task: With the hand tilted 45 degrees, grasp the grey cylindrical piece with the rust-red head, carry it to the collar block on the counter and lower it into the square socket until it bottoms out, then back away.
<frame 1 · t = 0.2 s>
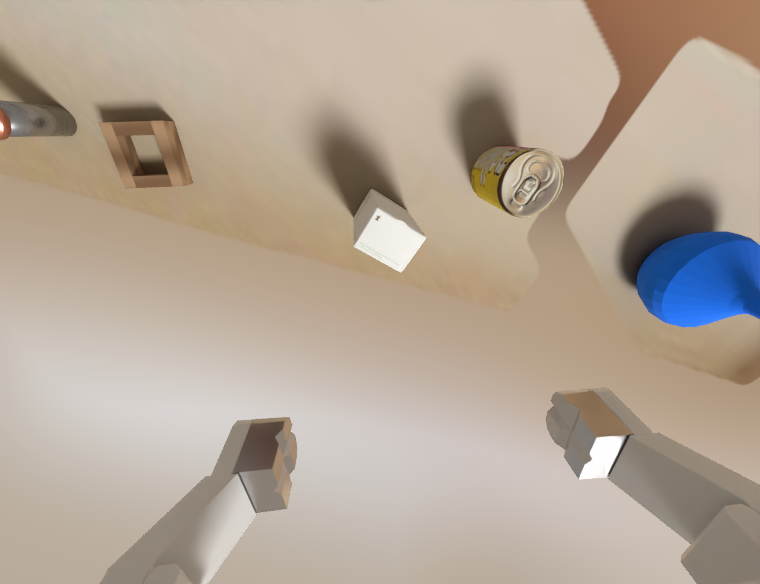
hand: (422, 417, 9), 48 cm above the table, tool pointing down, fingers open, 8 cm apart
vase: (663, 265, 62), on the table
beverage can: (496, 174, 52), on the table
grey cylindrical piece: (61, 121, 45), on the table
collar: (155, 154, 48), on the table
skincare box: (382, 213, 54), on the table
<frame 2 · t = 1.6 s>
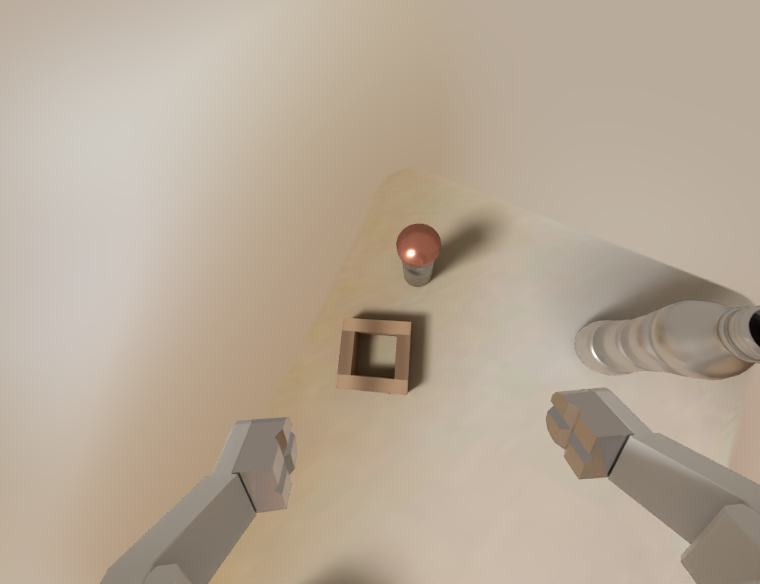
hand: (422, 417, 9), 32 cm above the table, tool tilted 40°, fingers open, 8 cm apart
plastic bottle: (594, 348, 38), on the table
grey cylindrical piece: (417, 273, 43), on the table
collar: (376, 355, 41), on the table
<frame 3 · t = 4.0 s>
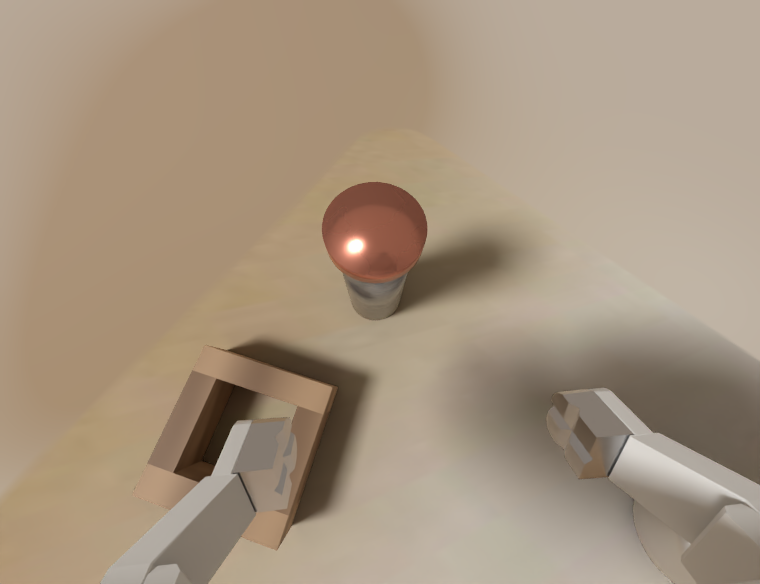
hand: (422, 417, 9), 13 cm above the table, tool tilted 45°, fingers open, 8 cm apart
plastic bottle: (663, 519, 20), on the table
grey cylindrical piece: (375, 295, 24), on the table
collar: (256, 431, 21), on the table
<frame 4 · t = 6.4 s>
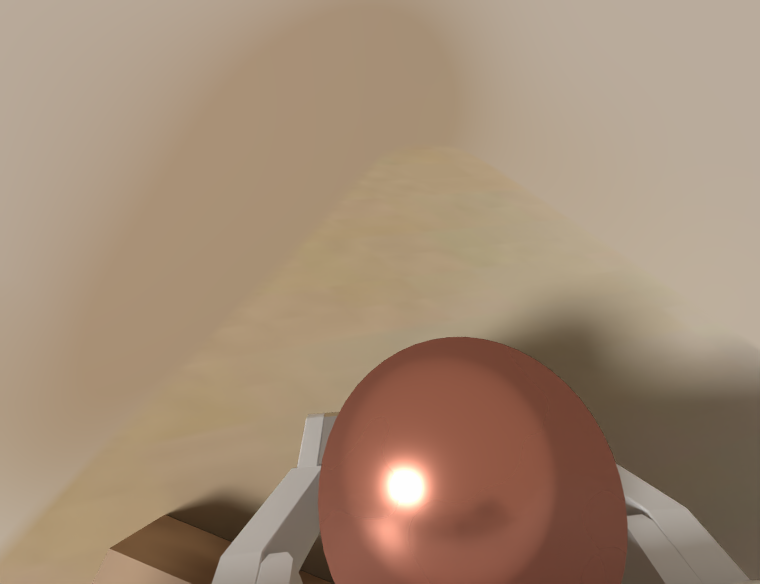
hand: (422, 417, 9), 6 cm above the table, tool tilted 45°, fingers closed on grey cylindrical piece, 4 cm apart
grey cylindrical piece: (406, 417, 15), on the table, touching gripper
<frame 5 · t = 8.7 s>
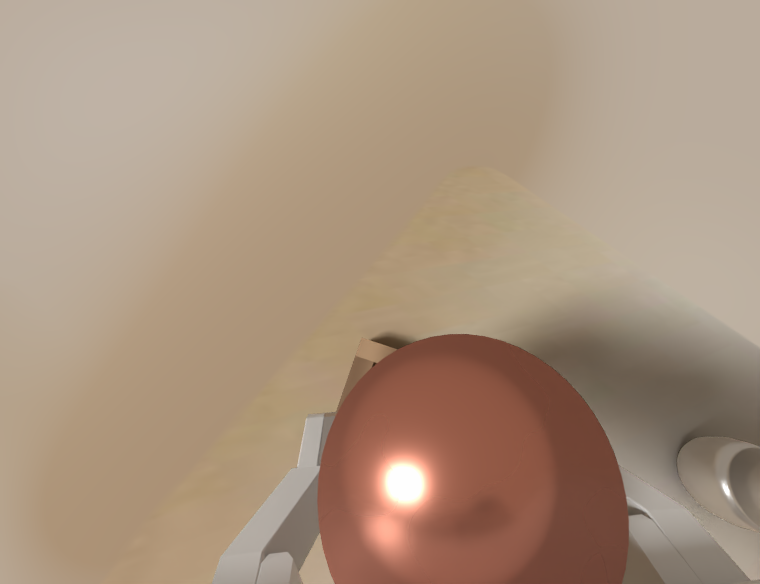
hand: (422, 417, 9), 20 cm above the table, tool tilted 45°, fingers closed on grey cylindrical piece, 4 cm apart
plastic bottle: (698, 470, 27), on the table
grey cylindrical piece: (406, 416, 15), point 14 cm above the table, touching gripper
collar: (392, 402, 28), on the table
when the fingers open (8 cm above the table, at t = 11.1 s): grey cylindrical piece drops 2 cm, resting in collar.
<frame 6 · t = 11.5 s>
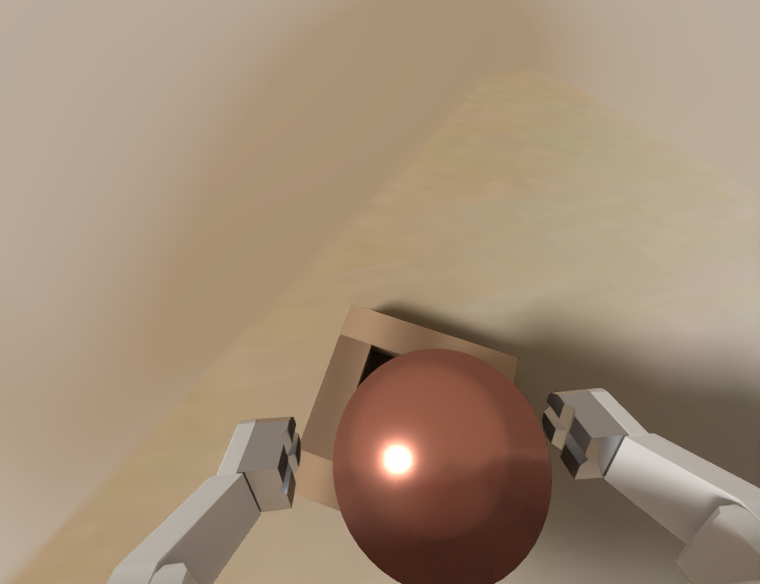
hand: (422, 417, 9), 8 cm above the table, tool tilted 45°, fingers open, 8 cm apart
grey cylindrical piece: (402, 413, 17), resting in collar
collar: (403, 413, 17), on the table
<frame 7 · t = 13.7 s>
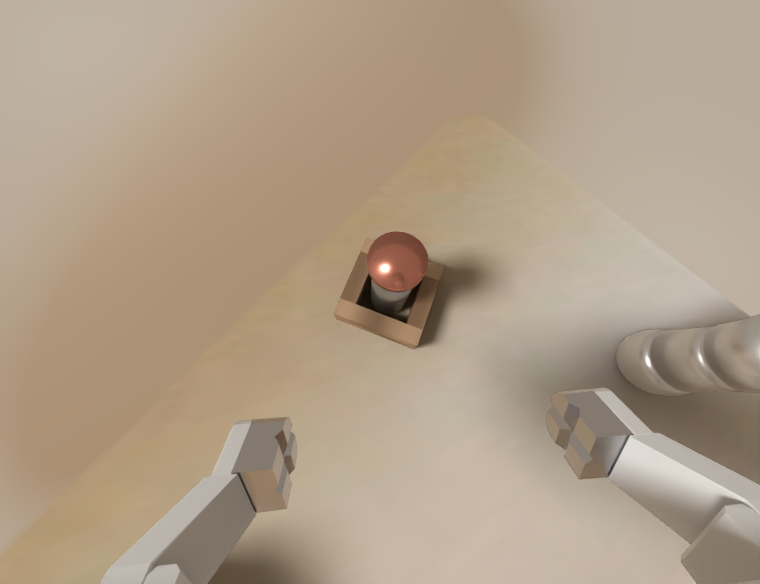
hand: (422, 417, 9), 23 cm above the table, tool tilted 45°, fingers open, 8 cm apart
plastic bottle: (634, 363, 33), on the table
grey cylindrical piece: (388, 296, 34), resting in collar
collar: (388, 296, 34), on the table
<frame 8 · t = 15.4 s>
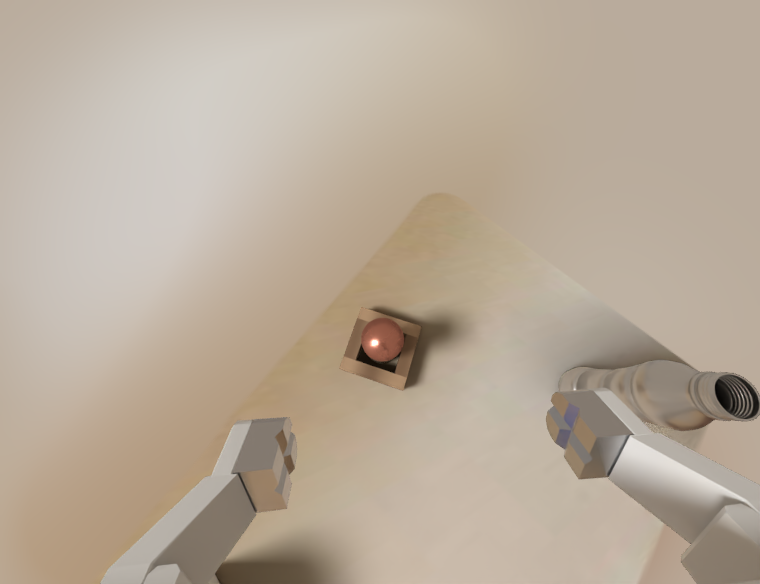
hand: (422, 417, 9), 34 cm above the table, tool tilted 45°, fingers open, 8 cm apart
plastic bottle: (574, 391, 42), on the table
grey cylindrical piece: (380, 349, 44), resting in collar
collar: (381, 349, 44), on the table
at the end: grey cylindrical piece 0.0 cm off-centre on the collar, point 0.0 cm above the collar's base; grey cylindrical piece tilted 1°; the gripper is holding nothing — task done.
